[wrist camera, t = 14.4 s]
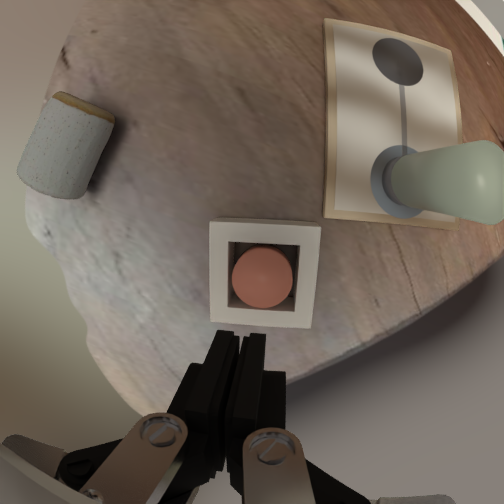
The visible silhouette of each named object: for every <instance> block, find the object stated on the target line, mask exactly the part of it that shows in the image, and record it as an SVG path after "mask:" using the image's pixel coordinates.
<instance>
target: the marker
mask: <svg viewBox="0 0 504 504" xmlns="http://www.w3.org/2000/svg"><path fill="white" fill-rule="evenodd" d="M382 185H383V189H384V191H385V193H386V195H387V197H388V198H389V199H390V200H391V201H392V202H394V203H396V204H398V205H402V206H407V207H412V208H417V209H422V210H427V211H432V212H437V213H441V214H446V215H450V216H455V217H459V218H463V219H467V220H472V221H476V222H480V223H483V224H487V225H494V224H497V223H499V222H501V221H502V220H503V219H504V152H503V151H502V150H501V148H500V147H498V146H497V145H496V144H495V143H493V142H491V141H487V140H481V141H475V142H469V143H464V144H458V145H453V146H448V147H442V148H437V149H432V150H428V151H423V152H418V153H413V154H409V155H404V156H400V157H396V158H393V159H392V160H390V161H389V162H388V163H387V164H386V166H385V168H384V170H383V173H382Z"/></svg>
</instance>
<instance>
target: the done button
mask: <svg viewBox="0 0 504 504" xmlns="http://www.w3.org/2000/svg"><path fill="white" fill-rule="evenodd" d="M292 282H293V278H292V270H291V264H290V262H289V260H288V258H287V256H286V255H285V254H284V253H283V252H282V251H281V250H279V249H278V248H276V247H273V246H270V245H257V246H253V247H251V248H249V249H247V250H246V251H245V252H244V253H243V254H242V255H241V256H240V258H239V260H238V261H237V263H236V265H235V267H234V269H233V273H232V285H233V288H234V290H235V293H236V294H237V296H238V297H239V298H240V299H241V300H242V301H243V302H245V303H246V304H248V305H250V306H253V307H257V308H269V307H273V306H275V305H277V304H279V303H281V302H282V301H283V300H284V299H285V298H286V297H287V296H288V294H289V292H290V290H291V287H292Z"/></svg>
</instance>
